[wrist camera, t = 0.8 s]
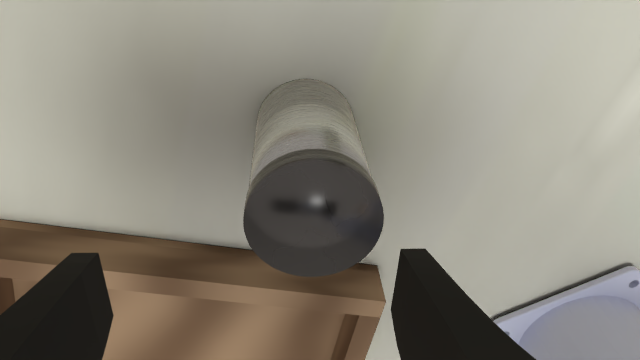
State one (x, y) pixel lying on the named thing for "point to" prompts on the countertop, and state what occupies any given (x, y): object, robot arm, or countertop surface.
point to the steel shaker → (310, 184)
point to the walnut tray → (202, 297)
